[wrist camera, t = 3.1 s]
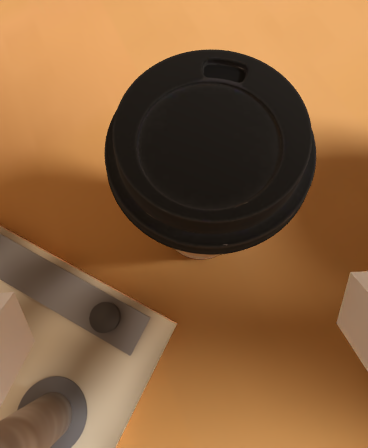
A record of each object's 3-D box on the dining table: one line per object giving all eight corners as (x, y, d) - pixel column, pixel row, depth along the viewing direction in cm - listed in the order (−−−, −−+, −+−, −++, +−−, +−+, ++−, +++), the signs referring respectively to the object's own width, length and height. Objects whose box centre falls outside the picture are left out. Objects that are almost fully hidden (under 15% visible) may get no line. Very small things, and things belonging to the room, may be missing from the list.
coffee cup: (233, 169, 27) (282, 15, 13) (267, 265, 25) (376, 206, 10) (136, 194, 27) (75, 61, 12) (160, 295, 24) (117, 275, 10)
